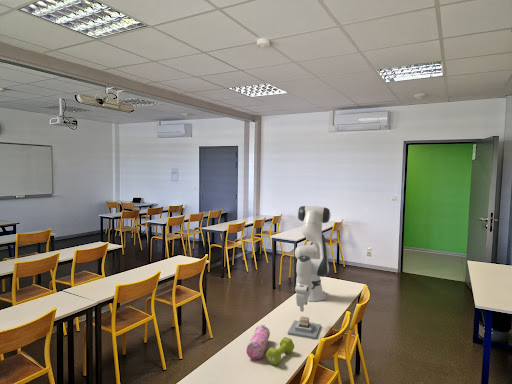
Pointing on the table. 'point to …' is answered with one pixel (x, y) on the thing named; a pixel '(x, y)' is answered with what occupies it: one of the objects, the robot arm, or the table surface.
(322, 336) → the table surface
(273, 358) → the dumbbell
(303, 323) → the stack block
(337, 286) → the table surface
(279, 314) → the table surface
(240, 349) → the table surface
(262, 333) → the pencil case
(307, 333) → the socket board
